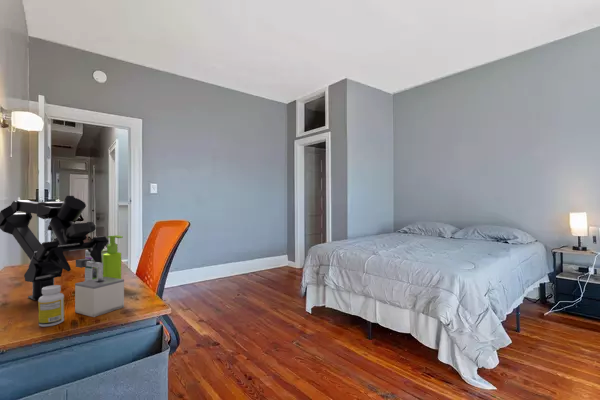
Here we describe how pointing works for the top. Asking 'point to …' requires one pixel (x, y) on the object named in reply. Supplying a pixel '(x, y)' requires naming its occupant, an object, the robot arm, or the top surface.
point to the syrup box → (92, 271)
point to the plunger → (88, 262)
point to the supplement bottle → (51, 306)
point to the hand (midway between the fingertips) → (85, 267)
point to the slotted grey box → (99, 296)
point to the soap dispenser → (112, 259)
